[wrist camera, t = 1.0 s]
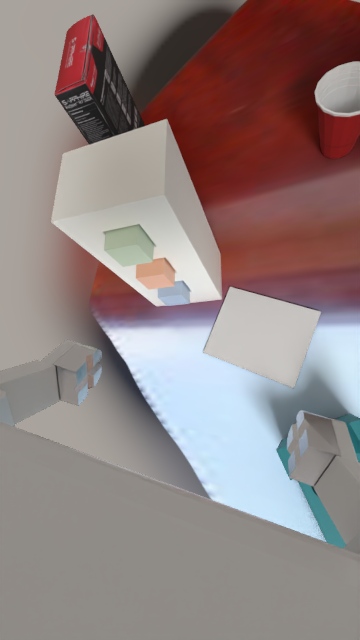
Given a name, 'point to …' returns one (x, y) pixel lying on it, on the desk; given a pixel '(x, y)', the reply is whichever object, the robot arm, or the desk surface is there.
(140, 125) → the graphics card box
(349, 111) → the plastic cup
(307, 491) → the teal l-shaped bracket
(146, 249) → the sage button
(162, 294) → the slate button
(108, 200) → the button panel
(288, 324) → the paper stack
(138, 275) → the terracotta button
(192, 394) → the desk surface
